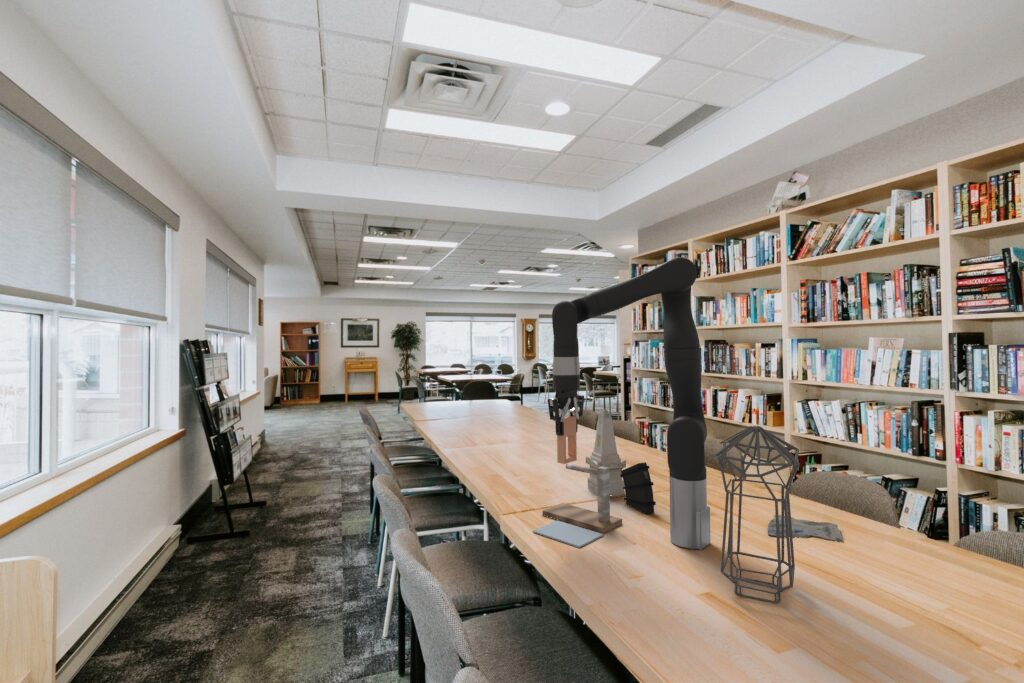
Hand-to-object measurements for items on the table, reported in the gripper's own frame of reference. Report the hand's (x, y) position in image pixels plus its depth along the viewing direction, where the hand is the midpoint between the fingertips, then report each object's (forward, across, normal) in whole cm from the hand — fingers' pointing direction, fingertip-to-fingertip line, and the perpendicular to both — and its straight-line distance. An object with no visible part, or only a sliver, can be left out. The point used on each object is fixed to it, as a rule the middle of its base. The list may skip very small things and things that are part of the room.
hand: (566, 433), depth 135 cm
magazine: (+28, +33, -3) cm, 43 cm away
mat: (+28, 0, 0) cm, 28 cm away
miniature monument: (+28, +41, +14) cm, 52 cm away
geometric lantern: (+28, +1, -49) cm, 56 cm away
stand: (+28, +12, +4) cm, 30 cm away
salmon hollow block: (+8, 0, 0) cm, 8 cm away
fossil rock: (+28, +45, -47) cm, 71 cm away
